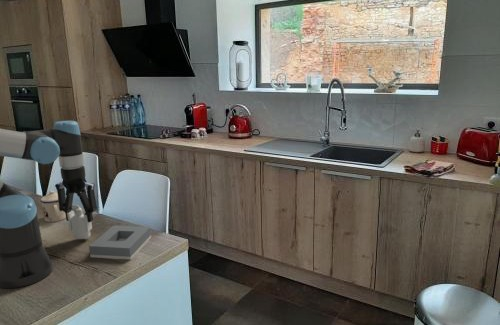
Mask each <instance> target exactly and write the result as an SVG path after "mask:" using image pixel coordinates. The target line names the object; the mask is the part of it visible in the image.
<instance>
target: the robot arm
mask: <svg viewBox="0 0 500 325" xmlns="http://www.w3.org/2000/svg"><path fill="white" fill-rule="evenodd" d="M81 136H82V133H81V131H80V127H79V123H78V122H77V121H75V120H60V121H55V122H54V123H53V128H50V129H49V128H47V129H40V130H39V129H38V130H28V131H27V130H26V131H25V130H23V131H16V130H10V129H4V128H0V157H5V158H12V159H13V158H14V159H20V160H21V159H22V160H25V161H27V160H28V161H34V162H36V163H39V164H42V165H49V164H51V163H53V162H55V161H56V160H57V159H58V162H59V168H60V176H61V179H62V181H60V182H58V183H56V184H55V185H54V187H55V189H56V193H58V202H59V210H60V211H64V212H65V214H66V218H65V220H66V221H67V222H68V228H69V231H70V232H72V225H71V218H72V217H73V216H74V215H75V210H73V200H74V195H75V194H76V195H77V197H78V198H79V200H80V203H81V205H82V207H83V208H82V209H83V210H84V212H85V213H83V214H84V220H85V228H86V232H88V231H90V232H91V230H92V229H93V224H92V222H93V221H94V218H93V213H94V212H96V211H97V210H98V206H97V205H98V204H97V199H96V194H95V186H96V184H95V183H94V182H93V183H89V182H88V181H87V180H86V169H85V166H84V164H85V163H84V162H85V161H84V155H83V147H82V146H83V145H82V139H81ZM37 211H38V208H37V205H36V203H35V200H34V199H33V198H32V197H30V196H28V195H25V194H24V193H22V191H19V190H17V189H14V188H12V187H11V186H9V185H8V184H6V183H4V182H3V181H2V180H0V288H3V289H17V288H21V287H22V288H23V287H26V286H30V285H32V284H35V283H37V282H39V281H41V280H43V279H45V278H47V277H48V276H49V275H50V274H51V273H52V272H53V270H54V263H53V260H52V258H51V257H50V256H49V254H48V252H47V250H46V249H45V247H44V244H43V240H42V233H41V228H40V223H39V218H38V217H39V216H38V212H37Z"/></svg>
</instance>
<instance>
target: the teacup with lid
mask: <svg viewBox="0 0 500 325" xmlns="http://www.w3.org/2000/svg"><path fill="white" fill-rule="evenodd" d="M40 203H41V206H42V213H43V218H44V221H45V222H47V223H55V222H59V221H63V220H66V214H65V212H64V211H60V210H59V202H58V193H57V192H55V190H51V191H49V192H48V193H47V194H45V195H44V196H42V197H41V199H40Z"/></svg>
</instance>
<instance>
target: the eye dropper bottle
mask: <svg viewBox="0 0 500 325" xmlns="http://www.w3.org/2000/svg"><path fill="white" fill-rule="evenodd" d="M75 207H76V208H74V216H73V217H72V218H71V225H72V231H71V232H72V237H73V238H74V239H76V240H83V239H88V238H90V237H91V230H90V231H88V232H86V228H85V220H84V214H85V213H83V208H81V207H80V205H79V204H76V206H75Z"/></svg>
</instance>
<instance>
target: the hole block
mask: <svg viewBox="0 0 500 325" xmlns="http://www.w3.org/2000/svg"><path fill="white" fill-rule="evenodd" d="M151 238H152V230H151V226H133V225H112V227H110V228H109V229H108V230H107V231H105V232H104V233H103V234H101V235H100V236H99V237H98V238H97V239H96V240H94V241H93V242H92V243H91V244H90V245H88V249H89V256H90V258H97V259H113V260H127V261H128V260H130V261H131V260H132V259H133V258H134V257H135V256H136V255H137V254H138V253H139V252H140V251H141V250H142V248H144V246H145V245H146V244H147V243H148V242H149V241H150V240H151Z"/></svg>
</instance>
